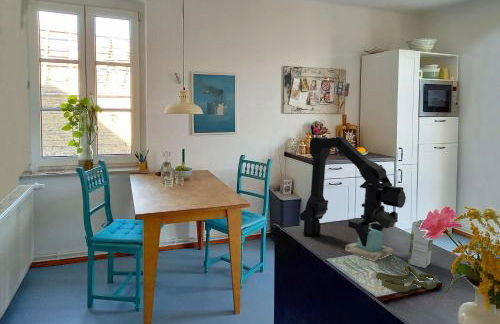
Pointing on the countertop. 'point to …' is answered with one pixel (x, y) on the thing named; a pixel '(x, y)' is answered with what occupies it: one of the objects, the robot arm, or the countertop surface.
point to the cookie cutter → (398, 285)
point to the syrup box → (419, 247)
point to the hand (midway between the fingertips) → (369, 244)
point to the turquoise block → (372, 241)
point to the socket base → (372, 256)
